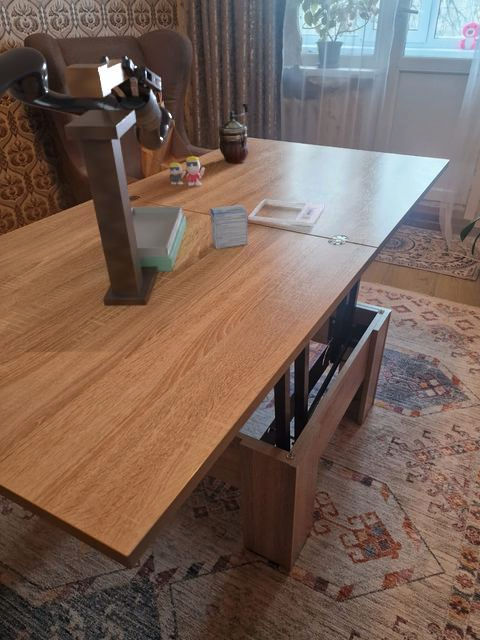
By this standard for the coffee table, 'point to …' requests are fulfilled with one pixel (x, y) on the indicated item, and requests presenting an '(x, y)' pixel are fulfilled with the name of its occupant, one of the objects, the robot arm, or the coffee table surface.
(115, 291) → the tall wooden post
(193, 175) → the toy figures
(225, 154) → the coffee grinder
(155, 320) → the coffee table surface
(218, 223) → the medicine box
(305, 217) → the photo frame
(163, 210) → the open plastic tray
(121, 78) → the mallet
